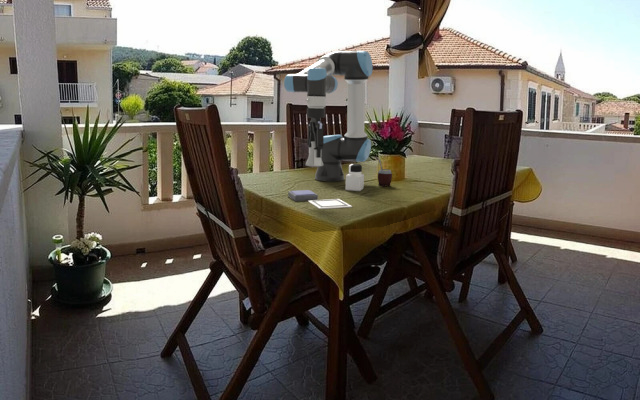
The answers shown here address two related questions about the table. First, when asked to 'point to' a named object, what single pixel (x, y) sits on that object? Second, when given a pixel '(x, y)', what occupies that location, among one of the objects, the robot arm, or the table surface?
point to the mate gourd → (384, 176)
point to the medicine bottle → (355, 178)
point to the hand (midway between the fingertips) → (314, 164)
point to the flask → (312, 157)
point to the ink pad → (302, 195)
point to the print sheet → (329, 204)
